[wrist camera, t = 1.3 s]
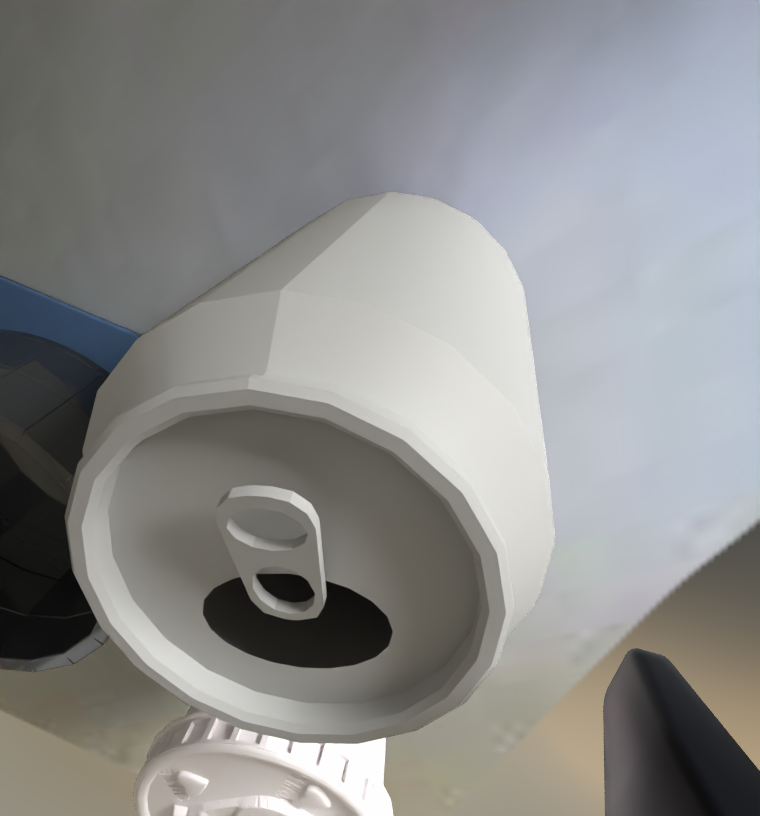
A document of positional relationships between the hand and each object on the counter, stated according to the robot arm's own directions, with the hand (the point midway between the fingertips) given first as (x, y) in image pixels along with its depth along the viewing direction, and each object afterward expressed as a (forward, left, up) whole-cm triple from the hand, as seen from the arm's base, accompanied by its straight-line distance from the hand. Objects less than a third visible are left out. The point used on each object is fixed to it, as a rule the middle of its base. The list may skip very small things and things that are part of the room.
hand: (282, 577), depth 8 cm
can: (0, 0, -12) cm, 12 cm away
